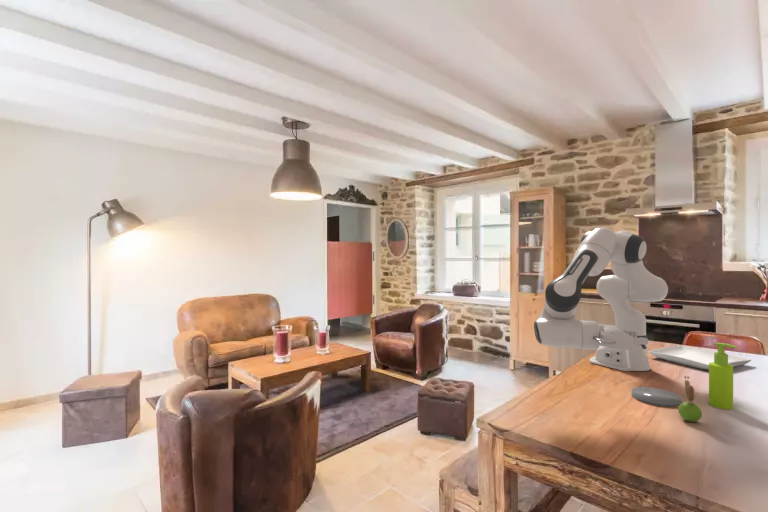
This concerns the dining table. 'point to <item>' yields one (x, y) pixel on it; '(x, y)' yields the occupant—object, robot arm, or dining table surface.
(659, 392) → the slate coaster
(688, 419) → the snail figurine
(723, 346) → the soap dispenser
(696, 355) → the square plate
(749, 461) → the dining table surface
